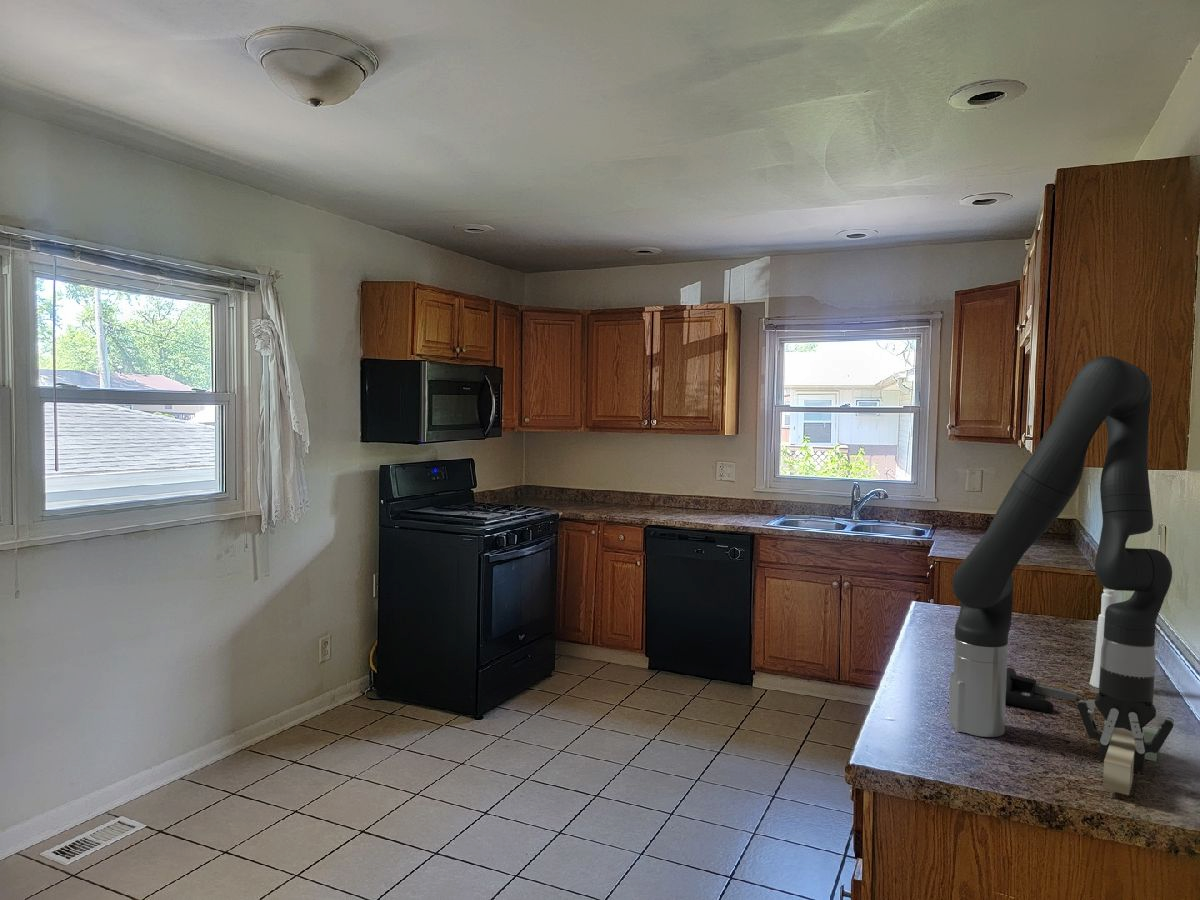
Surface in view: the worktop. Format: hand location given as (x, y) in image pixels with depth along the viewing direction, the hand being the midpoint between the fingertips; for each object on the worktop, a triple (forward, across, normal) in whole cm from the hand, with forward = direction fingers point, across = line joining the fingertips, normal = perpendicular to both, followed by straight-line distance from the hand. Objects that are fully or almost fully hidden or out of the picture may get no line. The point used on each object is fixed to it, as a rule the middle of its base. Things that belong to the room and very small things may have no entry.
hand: (1121, 768), depth 131 cm
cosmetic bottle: (+2, -7, +53) cm, 54 cm away
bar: (+1, 0, 0) cm, 1 cm away
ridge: (+2, 0, +15) cm, 15 cm away
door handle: (+3, -19, +35) cm, 40 cm away
